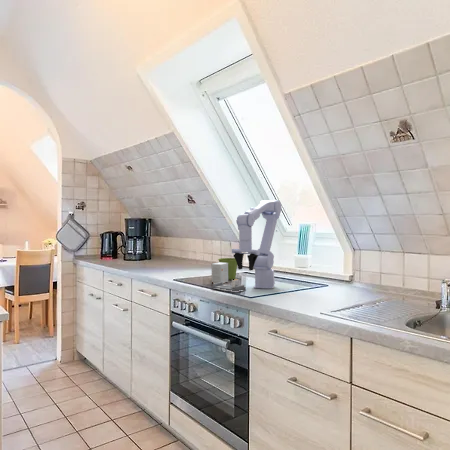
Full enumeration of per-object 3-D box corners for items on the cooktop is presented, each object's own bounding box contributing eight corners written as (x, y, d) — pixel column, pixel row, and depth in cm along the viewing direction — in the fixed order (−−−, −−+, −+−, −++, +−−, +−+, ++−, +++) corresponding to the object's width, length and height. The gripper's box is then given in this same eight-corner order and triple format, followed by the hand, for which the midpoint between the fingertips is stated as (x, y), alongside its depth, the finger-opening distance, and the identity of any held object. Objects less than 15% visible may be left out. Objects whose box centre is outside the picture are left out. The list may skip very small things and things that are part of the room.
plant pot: (243, 278, 231) (243, 258, 231) (232, 281, 222) (231, 260, 221) (225, 276, 238) (225, 257, 238) (213, 279, 228) (213, 259, 228)
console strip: (245, 290, 196) (245, 284, 196) (235, 292, 190) (235, 287, 190) (222, 287, 205) (222, 281, 205) (211, 289, 198) (211, 284, 198)
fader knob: (239, 287, 195) (239, 279, 195) (235, 288, 193) (235, 280, 193) (235, 286, 196) (235, 278, 196) (231, 287, 194) (231, 279, 194)
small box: (219, 281, 221) (219, 262, 221) (228, 282, 218) (228, 262, 218) (211, 284, 214) (211, 263, 214) (220, 284, 212) (220, 264, 211)
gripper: (227, 240, 192) (227, 269, 192) (253, 241, 183) (253, 272, 183) (236, 239, 197) (236, 267, 198) (262, 240, 188) (262, 270, 189)
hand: (245, 269), depth 191 cm, fingers open, 5 cm apart
